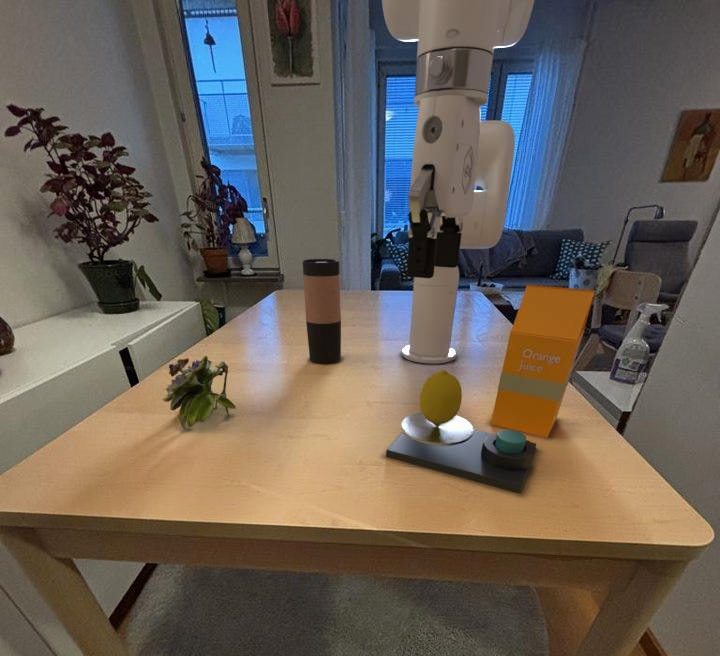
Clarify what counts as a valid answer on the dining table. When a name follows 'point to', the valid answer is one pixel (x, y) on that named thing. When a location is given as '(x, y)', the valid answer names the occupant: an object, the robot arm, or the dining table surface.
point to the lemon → (440, 397)
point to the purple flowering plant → (196, 390)
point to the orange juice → (540, 357)
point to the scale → (469, 459)
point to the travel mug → (323, 309)
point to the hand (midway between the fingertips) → (433, 271)
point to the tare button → (510, 441)
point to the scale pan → (437, 430)
